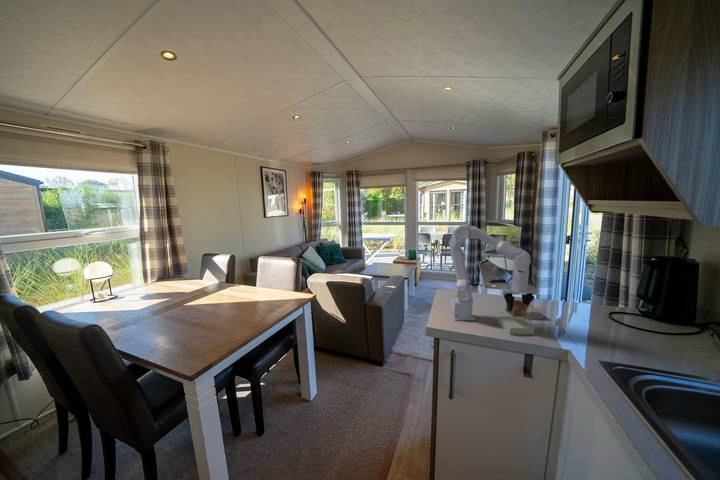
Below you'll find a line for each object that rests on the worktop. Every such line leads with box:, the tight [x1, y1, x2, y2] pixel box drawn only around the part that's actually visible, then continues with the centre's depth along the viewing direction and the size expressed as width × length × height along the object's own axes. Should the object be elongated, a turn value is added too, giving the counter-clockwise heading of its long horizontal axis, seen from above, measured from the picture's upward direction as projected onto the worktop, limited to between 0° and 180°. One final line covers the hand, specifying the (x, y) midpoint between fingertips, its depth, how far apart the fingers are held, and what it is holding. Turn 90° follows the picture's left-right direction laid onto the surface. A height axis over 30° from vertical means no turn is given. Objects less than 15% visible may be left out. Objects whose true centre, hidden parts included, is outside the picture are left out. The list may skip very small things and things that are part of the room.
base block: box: [497, 316, 536, 336], centre depth 112 cm, size 10×10×3 cm
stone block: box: [521, 303, 544, 321], centre depth 126 cm, size 12×5×10 cm
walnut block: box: [505, 299, 527, 317], centre depth 111 cm, size 6×6×5 cm
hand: (516, 310), depth 111 cm, fingers closed on walnut block, 5 cm apart
